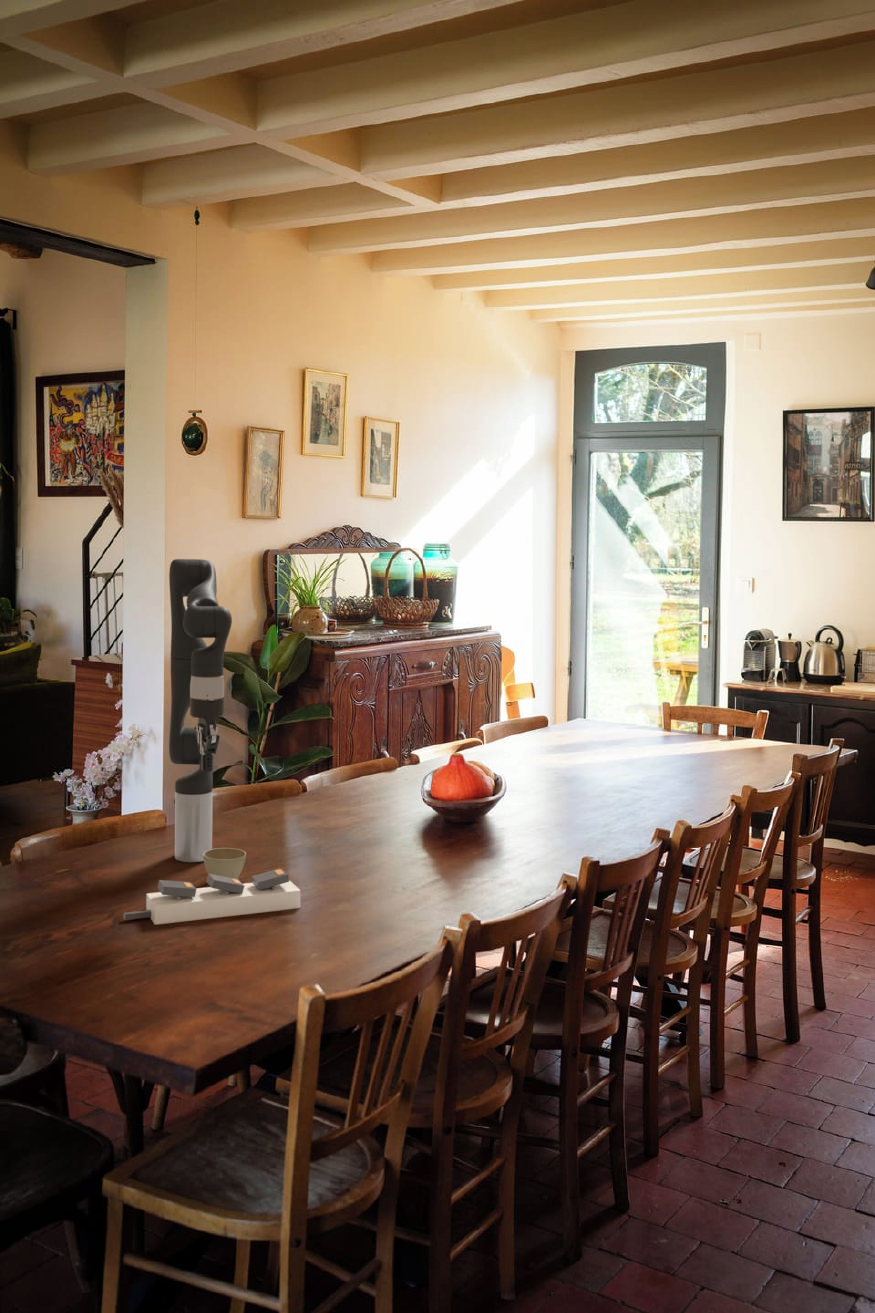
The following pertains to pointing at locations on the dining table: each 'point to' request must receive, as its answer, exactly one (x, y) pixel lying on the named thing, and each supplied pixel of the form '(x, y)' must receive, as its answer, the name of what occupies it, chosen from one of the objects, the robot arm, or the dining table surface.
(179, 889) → the rocker
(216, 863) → the flower pot
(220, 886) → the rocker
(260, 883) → the block
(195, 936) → the dining table surface
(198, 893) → the power strip
